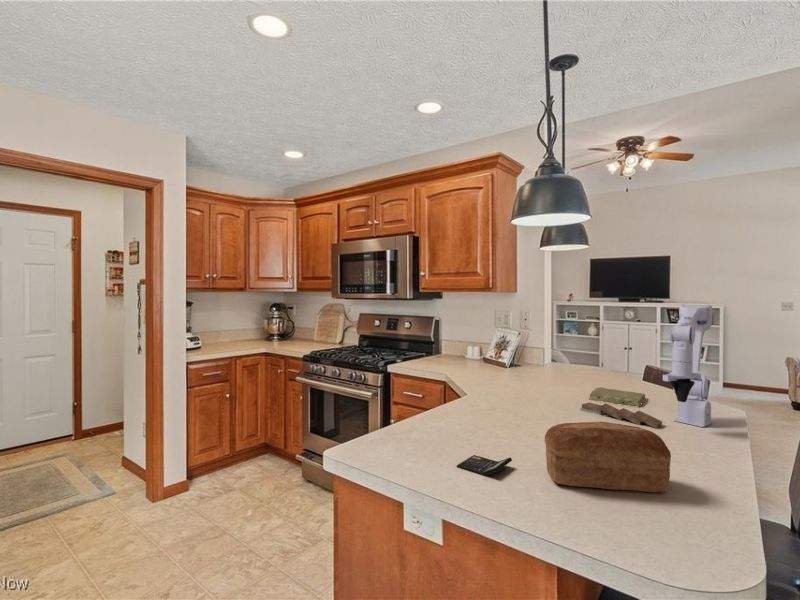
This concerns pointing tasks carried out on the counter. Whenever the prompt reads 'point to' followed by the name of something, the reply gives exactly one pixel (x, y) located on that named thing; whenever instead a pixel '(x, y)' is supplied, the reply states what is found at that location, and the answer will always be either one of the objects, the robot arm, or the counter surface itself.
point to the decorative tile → (617, 396)
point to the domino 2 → (590, 411)
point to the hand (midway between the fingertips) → (681, 401)
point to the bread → (607, 457)
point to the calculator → (482, 465)
